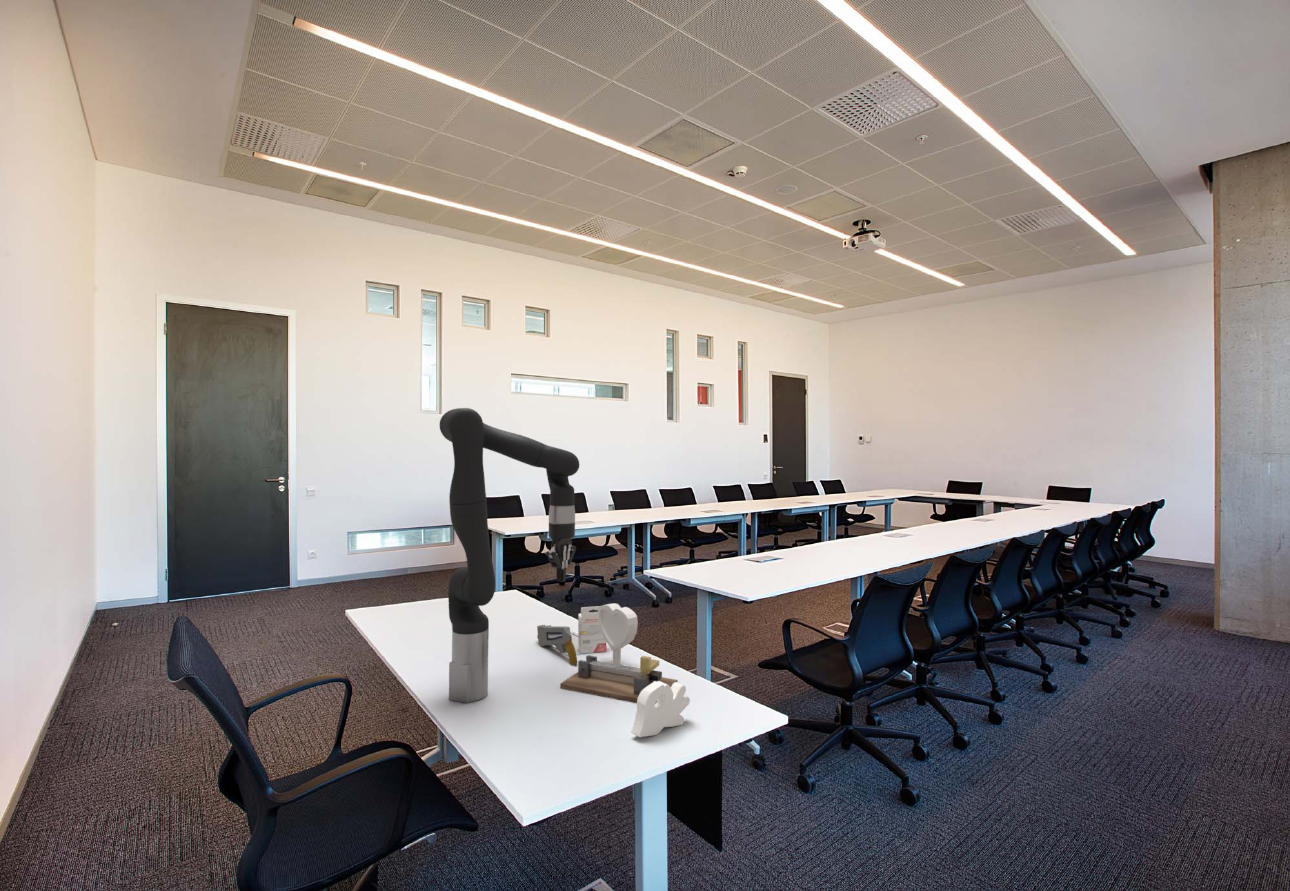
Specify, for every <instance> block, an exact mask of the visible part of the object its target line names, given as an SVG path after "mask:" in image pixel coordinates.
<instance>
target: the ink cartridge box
mask: <svg viewBox="0 0 1290 891" xmlns="http://www.w3.org/2000/svg"><path fill="white" fill-rule="evenodd" d="M600 606H601V605H600ZM600 606H598V605H597V606H584V607H583V606H582V607H581V608H580V613H578V615H577V616H578V620H577V621H578V625H577V626H578V628H577V630H578V633H577V636H578V638H577V640H578V641H577V642H578V644H577V645H578V646H577V647H578V651H579V653H580V654H592V653H603V652H604V653H605V652H607V642H606V641H605V639H604V637H603V635H602V633H601V631H600V627H599V624H598V608H599V607H600ZM593 610H594V611H593ZM590 611H591V612H590Z"/></svg>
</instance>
